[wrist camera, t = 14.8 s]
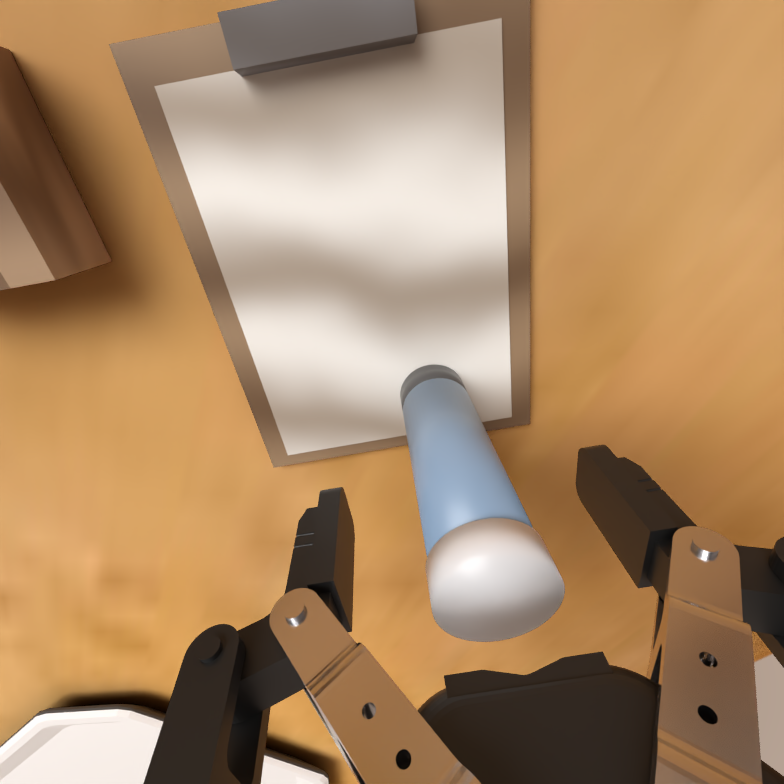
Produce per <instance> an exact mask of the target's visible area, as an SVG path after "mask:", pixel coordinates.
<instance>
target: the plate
mask: <svg viewBox="0 0 784 784" xmlns="http://www.w3.org/2000/svg"><path fill="white" fill-rule="evenodd" d="M165 715H166V713H164V712H161V711H158V710H155V709H152V708H149V707H147V706H141V705H134V704H111V705H95V706H78V707H62V708H49V709H46V710H43V711H40V712H39V713H37V714H36V715H35V716H34V717H33V718H32V719H31V720H30V721H28V722H27V723H26V724H25V725H24V726H23V727H22V728H20V729H19V730H18V731H17V732H16V733H15V734H14V735H12V736H11V737H10V738H9V739H8V740H7V741H6V742H5V743H3V744H2V745H1V746H0V784H143V783H144V780H145V777H146V774H147V771H148V768H149V765H150V762H151V758H152V755H153V752H154V749H155V746H156V743H157V740H158V737H159V734H160V730H161V727H162V724H163V721H164V718H165ZM261 784H330V783H329V776H328V774H327V773H326V772H325V771H324V770H322V769H319V768H317V767H315V766H313V765H311V764H308V763H306V762H304V761H302V760H299V759H297V758H295V757H292V756H289V755H286V754H283V753H280V752H278V751H275V750H272V749H269V748H266V747H265V754H264V762H263V769H262V777H261Z"/></svg>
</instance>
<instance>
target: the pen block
mask: <svg viewBox="0 0 784 784" xmlns="http://www.w3.org/2000/svg"><path fill="white" fill-rule="evenodd" d="M109 262H112V260H111V258H110V256H109V254H108V252H107V250H106V248H105V246H104V244H103V242H102V240H101V238H100V236H99V234H98V231H97V229H96V227H95V225H94V223H93V221H92V219H91V217H90V215H89V213H88V211H87V209H86V207H85V205H84V203H83V201H82V198H81V196H80V194H79V192H78V190H77V188H76V186H75V184H74V182H73V180H72V178H71V176H70V174H69V172H68V170H67V167H66V165H65V163H64V161H63V159H62V157H61V155H60V153H59V151H58V149H57V147H56V145H55V143H54V141H53V139H52V136H51V134H50V132H49V130H48V128H47V126H46V124H45V122H44V120H43V118H42V116H41V114H40V112H39V110H38V108H37V105H36V103H35V101H34V99H33V97H32V95H31V93H30V91H29V89H28V87H27V85H26V83H25V81H24V79H23V77H22V75H21V72H20V70H19V68H18V66H17V64H16V62H15V60H14V58H13V56H12V54H11V52H10V50H9V49H6V48H3V47H0V290H5V289H10V288H16V287H21V286H26V285H32V284H37V283H43V282H48V281H53V280H57V279H60V278H63V277H66V276H69V275H72V274H75V273H79V272H82V271H85V270H88V269H91V268H94V267H97V266H100V265H103V264H106V263H109Z"/></svg>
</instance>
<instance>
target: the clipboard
mask: <svg viewBox="0 0 784 784" xmlns="http://www.w3.org/2000/svg"><path fill="white" fill-rule="evenodd" d="M218 17H219V20H220V22H218V23H213V24H208V25H203V26H198V27H193V28H188V29H183V30H178V31H173V32H168V33H163V34H158V35H153V36H148V37H143V38H138V39H133V40H128V41H123V42H118V43H113V44H109V46H110V48H111V51H112V53H113V56H114V59H115V61H116V64H117V66H118V69H119V71H120V74H121V77H122V79H123V82H124V84H125V87H126V89H127V92H128V95H129V97H130V100H131V102H132V105H133V107H134V110H135V112H136V115H137V118H138V120H139V123H140V125H141V128H142V130H143V133H144V136H145V138H146V141H147V143H148V146H149V148H150V151H151V154H152V156H153V159H154V161H155V164H156V166H157V169H158V172H159V174H160V177H161V179H162V182H163V184H164V187H165V189H166V192H167V195H168V197H169V200H170V202H171V205H172V207H173V210H174V213H175V215H176V218H177V220H178V223H179V225H180V228H181V231H182V233H183V236H184V238H185V241H186V243H187V246H188V249H189V251H190V254H191V256H192V259H193V261H194V264H195V266H196V269H197V272H198V274H199V277H200V279H201V282H202V284H203V287H204V290H205V292H206V295H207V297H208V300H209V302H210V305H211V308H212V310H213V313H214V315H215V318H216V320H217V323H218V325H219V328H220V331H221V333H222V336H223V338H224V341H225V343H226V346H227V349H228V351H229V354H230V356H231V359H232V361H233V364H234V367H235V369H236V372H237V374H238V377H239V379H240V382H241V385H242V387H243V390H244V392H245V395H246V397H247V400H248V402H249V405H250V408H251V410H252V413H253V415H254V418H255V420H256V423H257V426H258V428H259V431H260V433H261V436H262V438H263V441H264V444H265V446H266V449H267V451H268V454H269V456H270V459H271V461H272V464H273V467H280V466H286V465H292V464H298V463H304V462H310V461H315V460H321V459H327V458H333V457H339V456H345V455H350V454H356V453H362V452H368V451H374V450H380V449H386V448H391V447H397V446H403V445H408V441H407V435H406V429H405V423H404V417H403V411H402V405H401V398H400V391H401V387H402V384H403V382H404V380H405V379H406V378H407V377H408V375H409V374H410V373H412V372H413V371H414V370H416V369H418V368H420V367H423V366H426V365H432V364H437V365H443V366H446V367H449V368H451V369H452V370H454V371H455V372H456V373H457V374H458V375H459V377H460V378H461V380H462V382H463V384H464V386H465V388H466V390H467V393H468V395H469V397H470V399H471V401H472V403H473V405H474V407H475V409H476V411H477V413H478V415H479V417H480V419H481V421H482V424H483V426H484V428H485V430H486V431H491V430H497V429H502V428H508V427H514V426H520V425H526V424H530V0H277V1H272V2H267V3H262V4H257V5H253V6H248V7H243V8H238V9H233V10H228V11H223V12H218Z"/></svg>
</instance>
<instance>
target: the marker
mask: <svg viewBox="0 0 784 784" xmlns="http://www.w3.org/2000/svg"><path fill="white" fill-rule="evenodd" d="M400 398H401V405H402V411H403V417H404V423H405V429H406V435H407V441H408V447H409V452H410V458H411V464H412V470H413V476H414V482H415V488H416V494H417V500H418V506H419V512H420V518H421V524H422V530H423V536H424V542H425V548H426V554H427V560H426V576H427V582H428V588H429V595H430V601H431V607H432V613H433V617H434V619H435V621H436V623H437V624H438V625H439V626H440V627H441V628H442V629H443V630H444V631H445V632H447V633H449V634H450V635H453V636H455V637H457V638H461V639H464V640H469V641H477V642H491V641H500V640H505V639H510V638H513V637H517V636H520V635H522V634H525V633H527V632H529V631H532V630H533V629H535V628H537V627H539V626H540V625H542V624H543V623H545V622H546V621H547V620H548V619H549V618H551V617H552V615H553V614H554V613H555V612H556V611H557V610H558V608H559V607H560V605H561V603H562V601H563V598H564V593H565V586H564V582H563V579H562V577H561V575H560V573H559V571H558V569H557V567H556V565H555V563H554V561H553V559H552V557H551V555H550V553H549V551H548V549H547V547H546V545H545V543H544V541H543V539H542V537H541V536H540V535H539V533H538V532H537V531H536V530H534V529H533V527H532V525H531V523H530V521H529V519H528V517H527V514H526V512H525V510H524V508H523V506H522V504H521V502H520V500H519V498H518V496H517V494H516V492H515V490H514V488H513V486H512V483H511V481H510V479H509V477H508V475H507V473H506V471H505V469H504V467H503V465H502V463H501V461H500V459H499V457H498V455H497V452H496V450H495V448H494V446H493V444H492V442H491V440H490V438H489V436H488V434H487V432H486V430H485V428H484V426H483V424H482V421H481V419H480V417H479V415H478V413H477V411H476V409H475V407H474V405H473V403H472V401H471V399H470V397H469V395H468V393H467V390H466V388H465V386H464V384H463V382H462V380H461V378H460V377H459V375H458V374H457V373H456V372H455V371H454V370H452V369H451V368H449V367H446V366H443V365H437V364H432V365H426V366H423V367H420V368H418V369H416V370H414V371H413V372H412V373H410V374H409V375H408V377H407V378H406V379H405V380H404V382H403V384H402V387H401V391H400Z"/></svg>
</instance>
